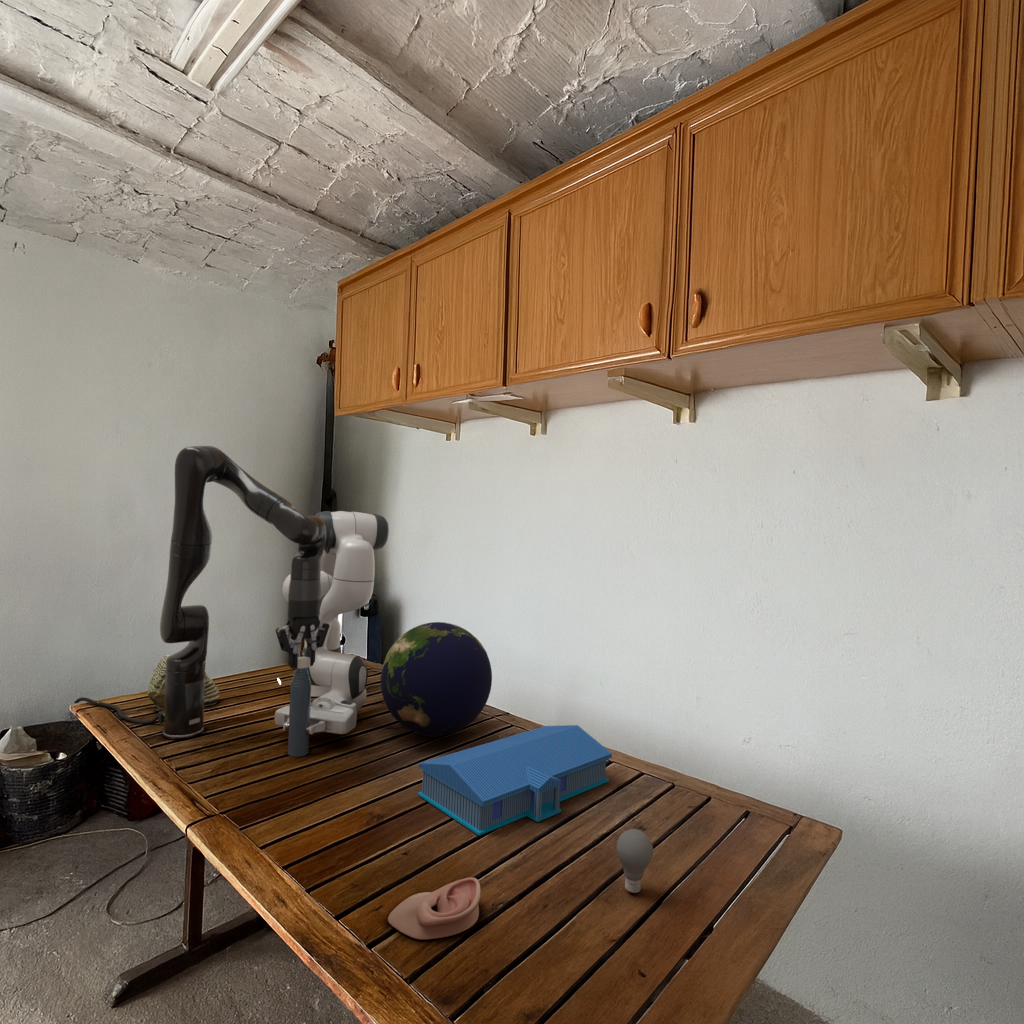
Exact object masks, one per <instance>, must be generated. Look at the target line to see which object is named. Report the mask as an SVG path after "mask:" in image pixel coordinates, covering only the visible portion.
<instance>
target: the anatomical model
mask: <svg viewBox="0 0 1024 1024" xmlns="http://www.w3.org/2000/svg"><path fill="white" fill-rule="evenodd" d="M481 894H482V893H481V884H480V881H479V880H478V879H477V878H476V877H464V878H461V879H458V880H455V881H453V882H450V883H448V884H446V885H443V886H441V887H440V888H437V889H435V890H433V891H431V892H430V891H426V892H425V891H424V892H418V893H415V894H413V895H410V896H408V897H407V898H406V899H404V900H403V901H401V902H400V903H398V905H397V906H396V907H394V909H393V910H392V911H391V912H390V913H389V915H388V917H387V922H388V924H389V925H391V927H393V928H394V929H396V930H397V931H398V932H400V933H401V934H404V935H405V936H407V937H410V938H412V939H414V940H433V939H440V938H446V937H451V936H454V935H457V934H460V933H463V932H464V931H467V930H468V929H470V928H472V927H473V926H474V925H475V924H476V923H477V922H478V920H479V917H480V916H479V915H480V907H479V903H480V900H481Z"/></svg>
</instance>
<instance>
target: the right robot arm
mask: <svg viewBox="0 0 1024 1024" xmlns="http://www.w3.org/2000/svg"><path fill="white" fill-rule="evenodd" d="M314 516H317V517H319V518H321V519H322V520H323V522H324V523H325V526H326V542H325V546H324V551H323V555H322V558H321V574H320V583H321V600H320V615H319V620H320V622H323V623H327V624H329V625H330V626H329V629H328V632H327V635H326V638H325V641H324V644H323V646H322V647H319V648H317V649H316V651H315V662H314V663H313V666H310V667H308V668H307V670H308V673H309V677H310V680H311V697H312V698H313V697H314V698H315V697H316V698H315V699H314V700H313V701H311V706H310V725H309V726H307V727H306V734H309V735H314V734H315V733H321V732H322V733H328V734H329V733H330V734H335V735H346V734H348V733H350V732H351V731H352V730H354V729H355V728H356V726H357V719H358V711H360V709H362V707H363V705H364V704H365V702H366V700H367V696H368V695H367V688H366V687H367V683H368V676H369V671H368V667H367V664H366V663H365V660H364V659H363V658H362V656H360V655H357V654H351V653H346V652H342V646H341V623H340V621H339V619H337V618H336V617H338V616H339V615H342V614H345V613H350V612H354V611H356V610H359V609H361V608H363V607H364V606H366V605H367V604H368V603H369V601H370V600H371V599H372V596H373V593H374V587H375V586H374V585H375V575H376V572H375V571H376V570H375V569H376V566H375V565H376V563H375V552H374V551H375V550H380V549H383V548H384V546H386V544H387V542H388V539H389V535H390V528H389V523H388V521H387V519H386V518H385V517H384V516H382V515H380V514H376V513H365V512H359V511H345V510H337V511H330V510H325V511H319V512H316V514H315V515H314ZM290 579H291V578H290V574H288V575H287V576H286V577H285V579H284V581H283V582H282V583H283V584H282V595H283V597H284V599H285V601H286V602H287V603H288V594H289V584H290ZM317 632H318V628H317V630H316V631H315V634H316V635H317ZM306 650H308V648H307V643H306V641H305V640H304V645H303V647H302V657H306ZM277 682H278V684H279V686H280V685H282V681H281V679H280V678H279V677H277ZM289 706H290V704H288V705H286V706H283V707H280V708H278V709H276V710H275V711H274V724H275V725H276V726H280V727H281V726H282V728H283V731H286V732H289Z"/></svg>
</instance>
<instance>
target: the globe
mask: <svg viewBox="0 0 1024 1024" xmlns="http://www.w3.org/2000/svg"><path fill="white" fill-rule="evenodd" d="M380 673H381V674H380V688H381V689H380V690H381V694H382V697H383V701H384V703H385V706H386V708H387V710H388V711H389V713H390V715H391V716H392V717H393V718H394V719H395V721H397V722H398V723H399V724H400V725H401V726H402V727H404V728H405V729H406V730H409V731H410V732H412V733H415V734H417V735H421V736H424V737H443V736H444V737H445V736H449V735H452V734H455V733H457V732H459V731H461V730H464V729H465V728H467V727H468V726H469V725H470V724H472V723H473V722H474V721H475V720H476V719H477V718H478V717H479V716H480V714H481V713H482V711H483V710H484V708H485V706H486V704H487V702H488V700H489V698H490V694H491V690H492V684H493V683H492V682H493V671H492V666H491V660H490V658H489V656H488V652H487V651H486V649H485V647H484V645H483V644H482V643H481V642H480V640H479V639H478V638H477V637H476V636H475V635H473V634H472V633H471V632H469V631H468V630H467V629H466V628H463V627H461V626H460V625H457V624H453V623H450V622H445V621H434V622H432V621H431V622H428V623H423V624H419V625H416V626H415V627H413V628H411V629H409V630H407V631H406V632H404V633H403V634H402V635H401V636H399V637H398V638H397V639H396V641H395V642H394V643H392V645H391V647H390V648H389V650H388V652H387V653H386V656H385V658H384V660H383V664H382V668H381V672H380Z"/></svg>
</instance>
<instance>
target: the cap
mask: <svg viewBox="0 0 1024 1024" xmlns="http://www.w3.org/2000/svg"><path fill="white" fill-rule="evenodd" d="M308 667H310V658H309V657H303V656H298V663H297V668H308Z"/></svg>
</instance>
